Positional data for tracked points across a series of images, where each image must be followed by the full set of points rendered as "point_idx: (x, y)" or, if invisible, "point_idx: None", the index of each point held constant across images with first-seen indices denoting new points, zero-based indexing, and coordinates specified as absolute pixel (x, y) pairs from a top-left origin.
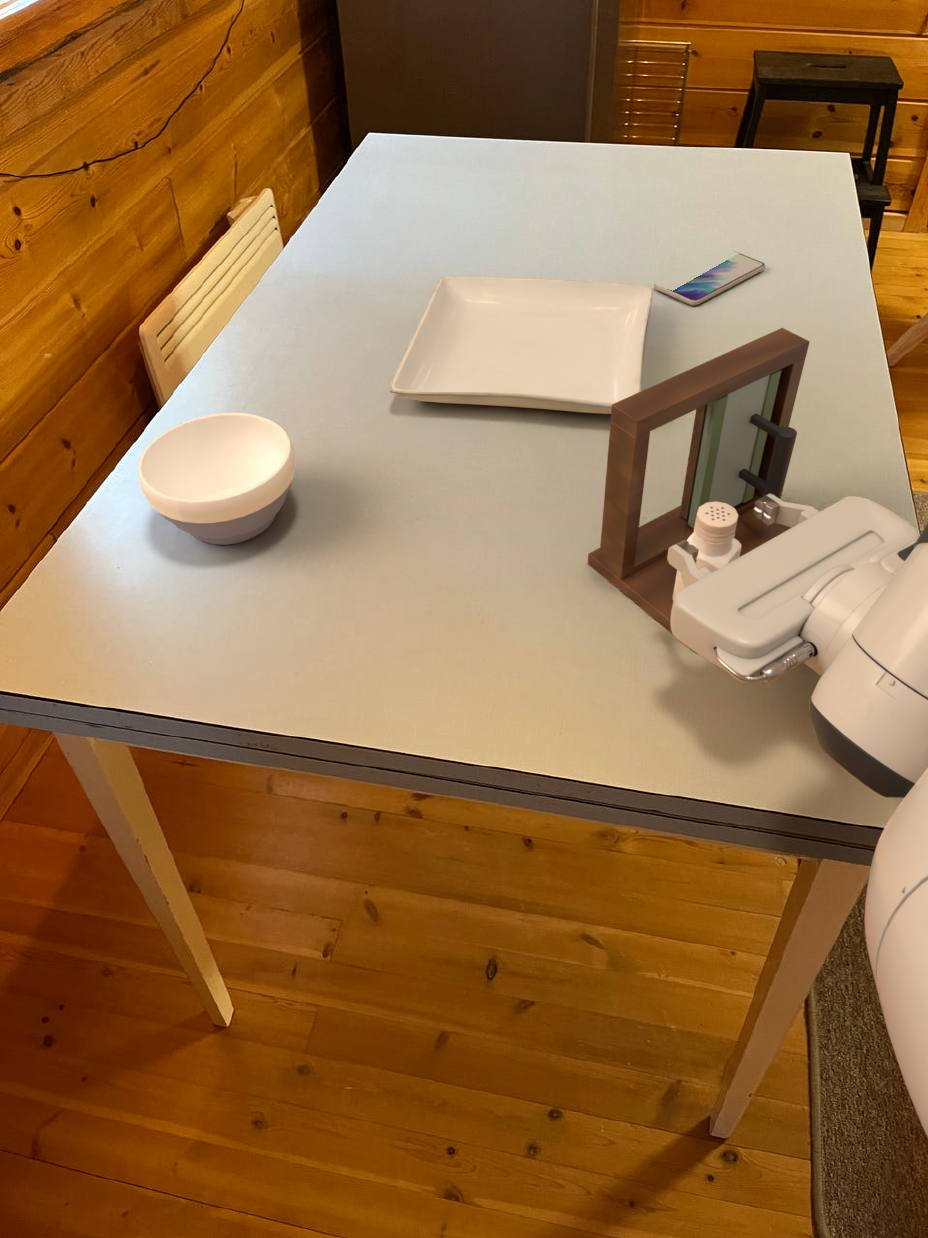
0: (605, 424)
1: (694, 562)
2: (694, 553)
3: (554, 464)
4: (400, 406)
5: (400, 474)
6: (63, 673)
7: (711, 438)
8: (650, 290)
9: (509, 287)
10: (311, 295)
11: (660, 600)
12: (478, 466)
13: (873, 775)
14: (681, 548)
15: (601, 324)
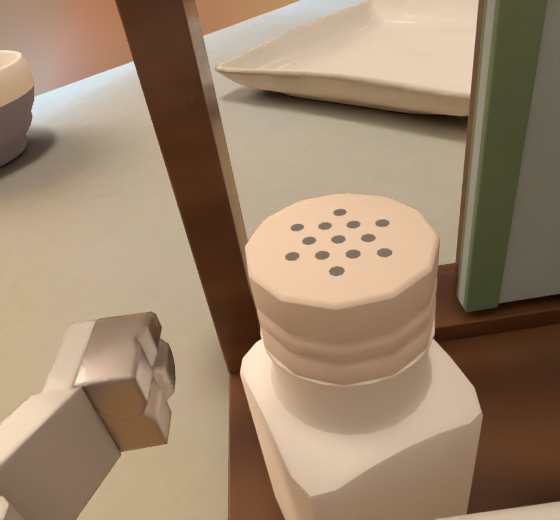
0: (452, 132)
1: (22, 442)
2: (112, 389)
3: (335, 166)
4: (236, 94)
5: (157, 149)
6: None
7: (500, 19)
8: None
9: (431, 6)
10: (266, 25)
11: (260, 467)
12: (242, 154)
13: None
14: (87, 344)
15: None
